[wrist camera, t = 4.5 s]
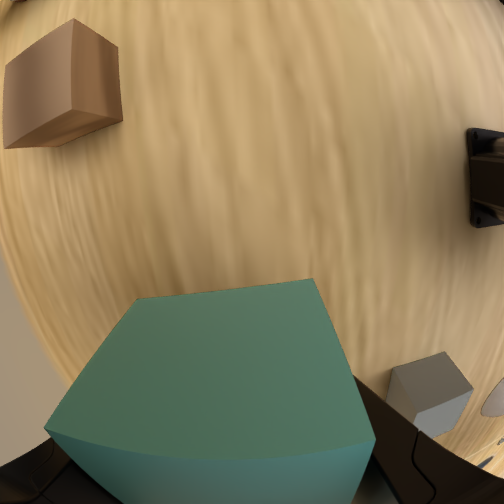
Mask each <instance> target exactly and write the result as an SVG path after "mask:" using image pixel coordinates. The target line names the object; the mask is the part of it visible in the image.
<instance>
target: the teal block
mask: <svg viewBox="0 0 504 504" xmlns="http://www.w3.org/2000/svg"><path fill="white" fill-rule="evenodd" d="M44 429H45V430H46V431H47V432H48V434H49V435H50V436H51V437H52V438H53V439H54V440H55V442H56V443H57V444H58V445H59V446H60V447H61V448H62V449H63V450H64V451H65V452H66V453H67V454H68V455H69V456H70V457H71V458H72V459H73V460H74V461H75V462H76V463H77V464H78V465H79V466H80V467H81V468H82V469H83V470H84V471H85V472H86V473H87V474H88V475H89V476H91V477H92V478H93V479H94V480H95V481H96V482H97V483H99V484H100V485H101V486H102V487H103V488H105V489H106V490H107V491H108V492H110V493H111V494H112V495H113V496H115V497H116V498H117V499H118V500H120V501H121V502H122V503H124V504H351V502H352V499H353V497H354V495H355V493H356V491H357V488H358V486H359V484H360V481H361V479H362V476H363V474H364V471H365V469H366V466H367V464H368V461H369V458H370V456H371V453H372V450H373V447H374V444H375V441H376V438H375V435H374V432H373V429H372V426H371V423H370V421H369V418H368V415H367V412H366V409H365V407H364V404H363V401H362V399H361V396H360V393H359V390H358V388H357V385H356V382H355V380H354V377H353V375H352V372H351V369H350V367H349V364H348V362H347V359H346V357H345V354H344V352H343V349H342V347H341V344H340V342H339V339H338V337H337V334H336V332H335V329H334V327H333V325H332V322H331V320H330V317H329V315H328V313H327V310H326V308H325V305H324V303H323V301H322V298H321V296H320V294H319V291H318V289H317V287H316V285H315V282H314V280H313V278H312V279H305V280H298V281H291V282H284V283H277V284H269V285H261V286H254V287H246V288H238V289H229V290H221V291H212V292H203V293H194V294H184V295H174V296H164V297H154V298H143V299H137V300H136V301H135V302H134V303H133V305H132V306H131V307H130V308H129V310H128V311H127V312H126V313H125V315H124V316H123V317H122V319H121V320H120V321H119V322H118V324H117V325H116V326H115V327H114V329H113V330H112V331H111V333H110V334H109V335H108V337H107V338H106V339H105V341H104V342H103V343H102V345H101V346H100V347H99V348H98V350H97V351H96V353H95V354H94V355H93V357H92V358H91V359H90V361H89V362H88V363H87V365H86V366H85V368H84V369H83V370H82V372H81V373H80V374H79V376H78V377H77V379H76V380H75V382H74V383H73V384H72V386H71V387H70V389H69V390H68V392H67V393H66V395H65V396H64V398H63V399H62V400H61V402H60V403H59V405H58V406H57V408H56V409H55V411H54V413H53V414H52V415H51V417H50V419H49V420H48V422H47V423H46V425H45V426H44Z"/></svg>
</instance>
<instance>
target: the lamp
mask: <svg viewBox="0 0 504 504" xmlns="http://www.w3.org/2000/svg"><path fill="white" fill-rule="evenodd" d="M481 414H482V415H483V416H486V417H498V416H501V415H504V378H503V379H502V380H501V382H500V383H499V384H498V385H497V386H496V387H495V389H494V390H493V391H492V393H491V394H490V395H489V397H488V398H487V400H486V401H485V403H484V405H483V407H482V410H481Z"/></svg>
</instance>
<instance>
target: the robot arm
mask: <svg viewBox="0 0 504 504" xmlns="http://www.w3.org/2000/svg"><path fill="white" fill-rule="evenodd" d="M473 133H474V137H473ZM467 140H468V149H469V162H470V182H471V215H470V222H471V225H472V226H473V227H476V228H482V227H489V226H495V225H501V224H504V133H503V132H498V131H492V130H486V129H480V128H469V129H468V130H467ZM476 220H477V222H476ZM352 375H353V374H352ZM353 377H354V380H355V382H356V385H357V388H358V390H359V393H360V396H361V399H362V401H363V404H364V407H365V409H366V412H367V415H368V418H369V421H370V423H371V426H372V429H373V432H374V435H375V438H376V441H375V444H374V447H373V450H372V453H371V456H370V458H369V461H368V464H367V466H366V469H365V471H364V474H363V476H362V479H361V481H360V484H359V486H358V488H357V491H356V493H355V495H354V497H353V499H352V502H351V504H504V479H503V478H500V477H497V476H495V475H493V474H491V473H489V472H487V471H485V470H483V469H481V468H479V467H477V466H475V465H473V464H471V463H469V462H468V461H466V460H464V459H462V458H460V457H459V456H457V455H455V454H454V453H452V452H450V451H449V450H447V449H446V448H444V447H443V446H441V445H440V444H438V443H437V442H436V441H434V440H433V439H432V438H430V437H429V436H428V435H426V434H425V433H424V432H423V431H421V430H420V431H419V428H417V427H416V426H415V425H414V424H412V423H411V422H410V421H409V420H407V419H406V418H405V417H404V416H402V415H401V414H400V413H399V412H397V411H396V410H395V409H394V408H393V407H391V406H390V405H389V404H388V403H386V402H385V401H384V400H383V399H382V398H380V397H379V396H378V395H377V394H376V393H374V392H373V391H372V390H371V389H369V388H368V387H367V386H366V385H365V384H363V383H362V382H361V381H360V380H359V379H358V378H356V377H355V376H354V375H353ZM0 504H124V503H122V502H121V501H120V500H118V499H117V498H116V497H115V496H113V495H112V494H111V493H110V492H108V491H107V490H106V489H105V488H103V487H102V486H101V485H100V484H99V483H97V482H96V481H95V480H94V479H93V478H92V477H91V476H89V475H88V474H87V473H86V472H85V471H84V470H83V469H82V468H81V467H80V466H79V465H78V464H77V463H76V462H75V461H74V460H73V459H72V458H71V457H70V456H69V455H68V454H67V453H66V452H65V451H64V450H63V449H62V448H61V447H60V446H59V445H58V444H57V443H56V442H55V440H54V439H53V438H52V437H50V438H49V439H48V440H46V441H45V442H43V443H42V444H40V445H39V446H37V447H36V448H34V449H32V450H31V451H29V452H27V453H25V454H24V455H22V456H20V457H18V458H16V459H14V460H12V461H11V462H9V463H7V464H5V465H3V466H1V467H0Z"/></svg>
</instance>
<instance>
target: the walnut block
mask: <svg viewBox="0 0 504 504" xmlns="http://www.w3.org/2000/svg"><path fill="white" fill-rule="evenodd" d="M120 121H123V114H122V105H121V94H120V80H119V63H118V47H117V46H115V45H114V44H112V43H111V42H109V41H108V40H107V39H105V38H104V37H102V36H101V35H99V34H98V33H96V32H95V31H93V30H92V29H90V28H88V27H87V26H85V25H84V24H82V23H81V22H79V21H77V20H76V19H74V18H73V19H71V20H70V21H68V22H66V23H65V24H63V25H61V26H60V27H58V28H56V29H55V30H53V31H52V32H50V33H49V34H47V35H46V36H44V37H43V38H41V39H40V40H38V41H37V42H35V43H34V44H33V45H31V46H30V47H29V48H27V49H26V50H25V51H23V52H22V53H21V54H19V55H18V56H17V57H16V58H14V59H13V60H12V61H11V62H9V63H8V64H7V65H6V67H5V77H4V90H3V143H4V149H11V148H27V147H58V146H61V145H63V144H65V143H67V142H70V141H72V140H74V139H77V138H79V137H81V136H84V135H86V134H88V133H91V132H93V131H96V130H99V129H101V128H104V127H106V126H109V125H112V124H115V123H118V122H120Z"/></svg>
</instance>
